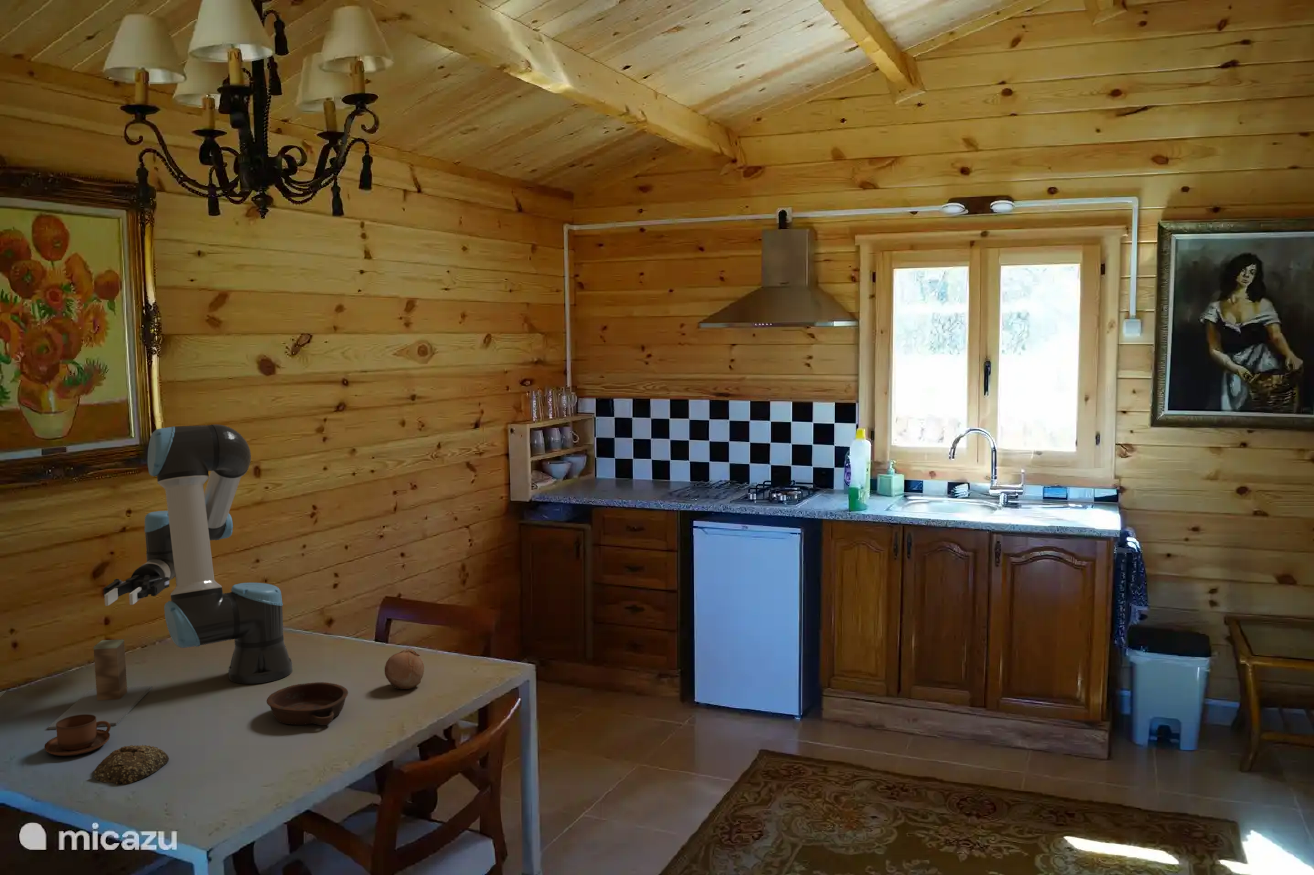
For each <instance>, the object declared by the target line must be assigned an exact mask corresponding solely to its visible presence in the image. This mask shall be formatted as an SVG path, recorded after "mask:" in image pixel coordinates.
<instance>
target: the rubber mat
mask: <svg viewBox="0 0 1314 875" xmlns="http://www.w3.org/2000/svg"><path fill="white" fill-rule="evenodd" d="M152 689H153V685H143V686H142V685H141V686H127V693H126V694H125V695H124V696H122V697H121V698H120V699H114V700H97V691H96V688H91V689H89V690H88V691H86V692H85V693H84V694H83V695H82V696H81V697H80V698H79V699H78V700H77V701H75V702H74V703H73V704H72V705H71V706H70V707H68V708H67V710H66V711H64V712H63V713H61V715H60V716H59V717H57V718H56V719H55V720H54V721H53V722H52V723H51V724H50V725H49V726H48V727H47V729H48V730H56V723H57V722H58V721H60V720H62V719H64V718H67V717H70V716H75V715H82V714H90V715H94V716H96V722H99V721H107V722H108V723H109V724H110V726H111V727H113V726H117V725H118V724H119V723H120V722H121V721H122V720H123V719H124V718H125V717H126V716H127V715H128V714H129V713H130V712H131V711H132V710H133V708H135V707H136V706H137V705H138V703H140V701H141V700H142V699H143V698H145V696H146V695H147V694H148V693H149V692H150V691H151V690H152ZM98 727H107V726H106V725H105V724H100V725H98V726H97V728H98Z"/></svg>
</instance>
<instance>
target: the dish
mask: <svg viewBox="0 0 1314 875" xmlns="http://www.w3.org/2000/svg"><path fill="white" fill-rule="evenodd" d="M348 696H349V691H348V689H347V688H346V687H345V686H343V685H340V684H337V683H334V682H333V683H332V682H324V681H322V682H321V681H320V682H318V681H317V682H315V681H314V682H306V683H298V684H293V685H289V686H287V687H283V688H281V689H277V691H274V692H273V693H271V694H270V695H269V696H268V697H267V698H266V704H267V705H268V706H269V707H270V709H271V712H272V714H273V717H274V718H275V719H276V720H277V721H278V722H280V723H283V724H287V725H294V726H295V725H297V726H298V725H300V726H301V725H311V724H312V725H313V724H314V725H316V726H317V725H318V726H326V725H328V724H331V723H332V722H333V720H334V718H335V717H337V716H338V715H339V714H341V712H342V711H343V708H344V705H345V701H346V698H347V697H348Z"/></svg>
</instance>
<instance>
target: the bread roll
mask: <svg viewBox="0 0 1314 875" xmlns="http://www.w3.org/2000/svg"><path fill="white" fill-rule="evenodd" d="M169 760H170V758H169V755H168V754H167V753H166V752H165V751H163V749H161V748H158V747H156V746H152V745H150V744H149V745H146V744H142V745H132V744H131V745H124V746H121V747H120V748H119V749H115V750H113V751H111V752H110V753H109V755H107V756H106V757H105V758H104V759H102V761H101V762H100V763H98V764H97V766H96V768H94V771H93V773H94V775H93V776H94V779H95V780H97V781H99V782H103V783H110V784H111V783H112V784H114V785H116V786H117V785H129V784H132V783H135V782H138V781H140V780H142V779H145V778H147V777H149V776H150V775H152V774H154V773H155V772H157V771H159V770H160V769H161V768H162V767H163V766H166V764H168V762H169Z"/></svg>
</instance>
